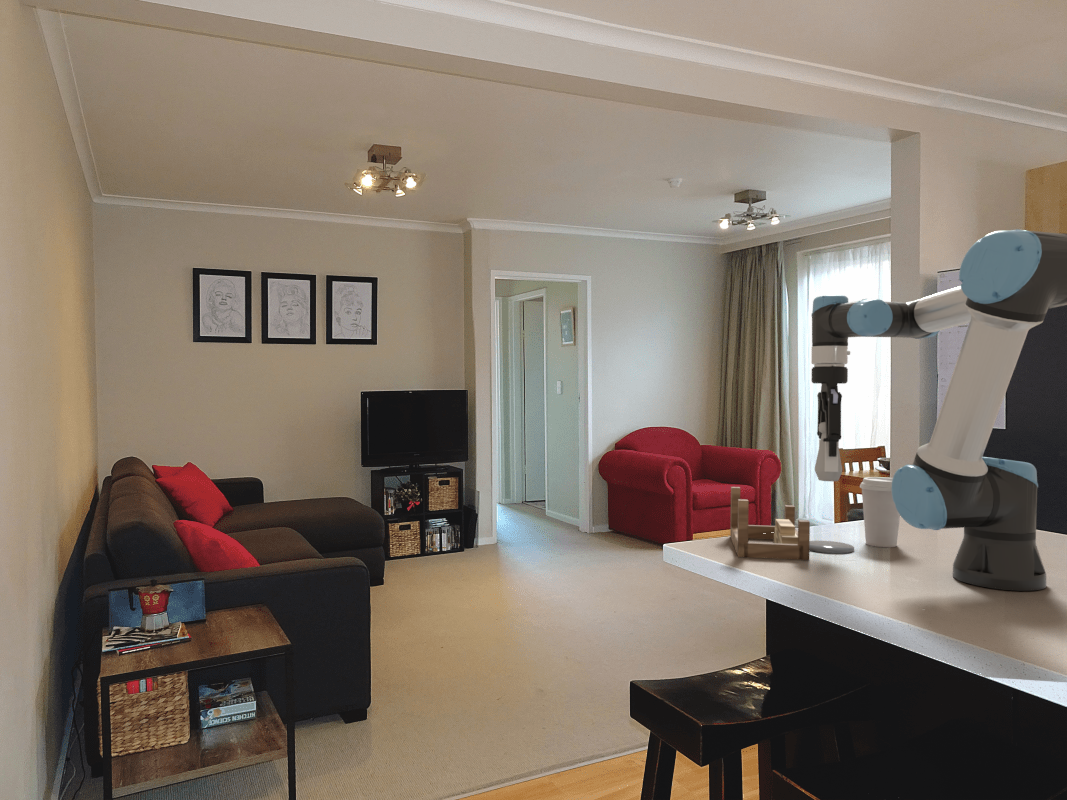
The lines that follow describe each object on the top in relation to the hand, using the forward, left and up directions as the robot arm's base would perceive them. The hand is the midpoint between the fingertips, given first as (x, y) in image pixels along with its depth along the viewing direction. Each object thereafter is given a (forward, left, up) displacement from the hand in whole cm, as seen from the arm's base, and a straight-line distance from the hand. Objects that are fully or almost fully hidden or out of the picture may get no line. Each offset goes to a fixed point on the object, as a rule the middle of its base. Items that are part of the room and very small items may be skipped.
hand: (828, 469), depth 175 cm
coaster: (0, 0, -18) cm, 18 cm away
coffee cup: (+7, -13, -18) cm, 23 cm away
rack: (-2, +13, -18) cm, 22 cm away
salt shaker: (0, 0, -3) cm, 3 cm away
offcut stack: (-2, +9, -18) cm, 20 cm away
